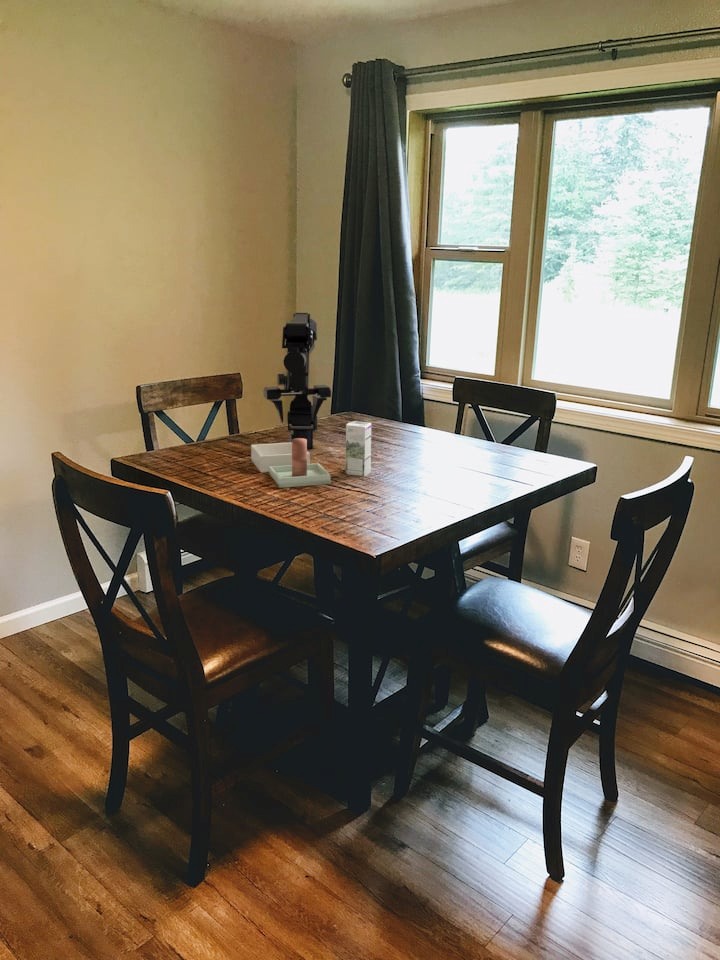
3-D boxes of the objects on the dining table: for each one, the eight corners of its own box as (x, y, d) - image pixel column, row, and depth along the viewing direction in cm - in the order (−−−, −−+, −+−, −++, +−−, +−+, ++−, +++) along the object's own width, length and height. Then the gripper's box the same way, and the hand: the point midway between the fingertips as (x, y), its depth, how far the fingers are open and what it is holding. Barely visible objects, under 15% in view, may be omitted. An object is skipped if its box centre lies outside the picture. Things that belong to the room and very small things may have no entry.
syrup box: (371, 472, 214) (372, 421, 210) (364, 478, 208) (365, 426, 204) (351, 470, 215) (352, 420, 211) (344, 475, 210) (345, 424, 206)
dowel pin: (304, 473, 208) (304, 437, 205) (308, 477, 204) (308, 441, 201) (290, 474, 207) (290, 438, 204) (294, 478, 203) (293, 442, 200)
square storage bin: (298, 458, 227) (297, 441, 226) (309, 470, 215) (309, 453, 213) (251, 461, 223) (251, 444, 222) (260, 474, 210) (260, 456, 209)
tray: (318, 471, 213) (318, 463, 213) (330, 483, 202) (330, 474, 202) (269, 475, 209) (269, 466, 208) (278, 487, 198) (278, 478, 197)
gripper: (321, 363, 226) (321, 414, 230) (259, 364, 220) (260, 417, 224) (331, 368, 216) (331, 422, 220) (266, 370, 210) (267, 425, 214)
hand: (297, 421), depth 220 cm, fingers open, 9 cm apart
